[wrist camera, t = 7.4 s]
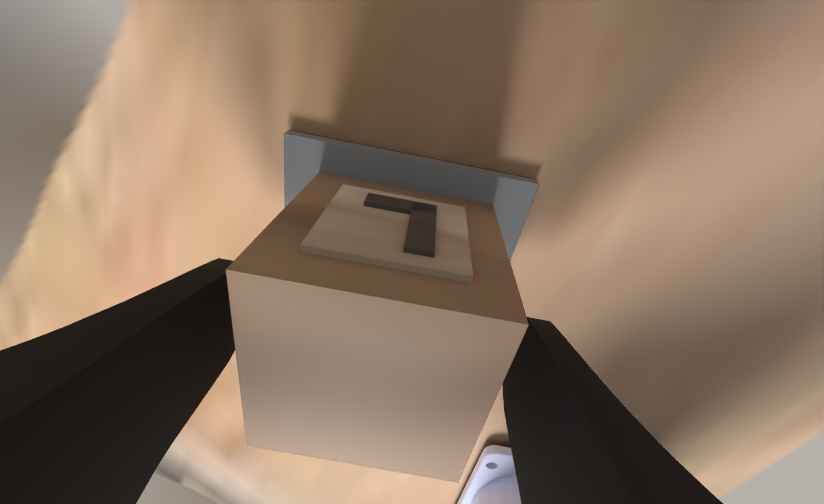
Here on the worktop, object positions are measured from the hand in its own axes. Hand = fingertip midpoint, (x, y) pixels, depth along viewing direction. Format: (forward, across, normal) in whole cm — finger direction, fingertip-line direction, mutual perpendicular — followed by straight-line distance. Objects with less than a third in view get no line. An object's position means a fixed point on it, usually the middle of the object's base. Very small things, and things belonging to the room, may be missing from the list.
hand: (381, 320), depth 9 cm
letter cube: (+3, 0, 0) cm, 3 cm away
